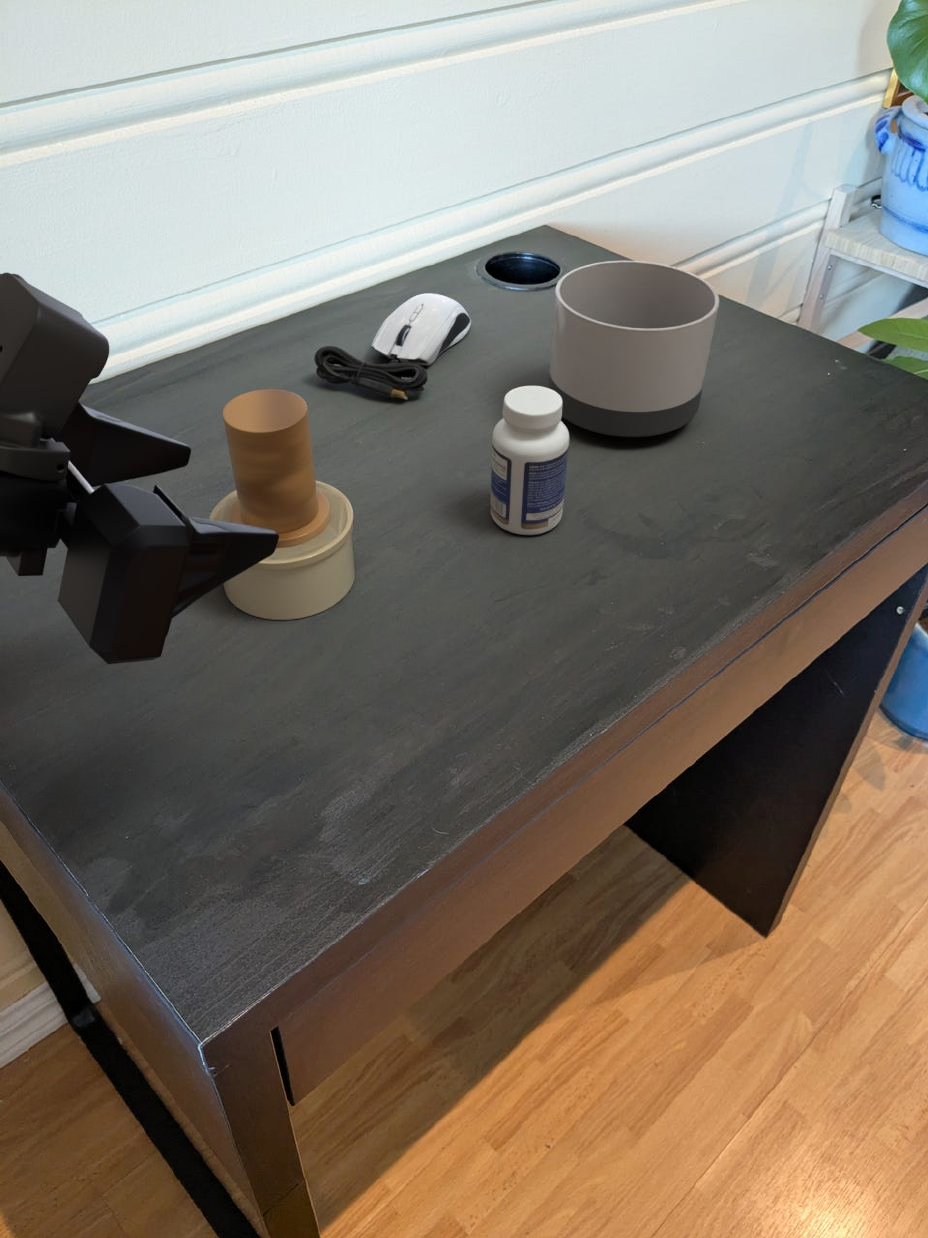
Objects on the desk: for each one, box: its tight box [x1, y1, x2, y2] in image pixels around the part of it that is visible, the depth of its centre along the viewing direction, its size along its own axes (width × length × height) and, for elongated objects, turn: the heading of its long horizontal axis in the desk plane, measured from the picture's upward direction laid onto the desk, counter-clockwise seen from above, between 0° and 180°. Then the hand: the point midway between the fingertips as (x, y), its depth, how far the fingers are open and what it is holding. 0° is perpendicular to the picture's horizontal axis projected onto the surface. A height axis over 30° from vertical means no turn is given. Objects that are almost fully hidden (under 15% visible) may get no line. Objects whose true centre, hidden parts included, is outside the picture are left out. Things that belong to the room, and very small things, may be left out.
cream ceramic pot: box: [208, 480, 356, 621], centre depth 64 cm, size 9×9×5 cm
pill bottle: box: [490, 385, 570, 536], centre depth 68 cm, size 5×5×10 cm
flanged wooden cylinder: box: [222, 388, 330, 548], centre depth 60 cm, size 6×6×8 cm
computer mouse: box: [313, 292, 472, 401], centre depth 89 cm, size 10×18×4 cm, turn 156°
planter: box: [547, 260, 720, 438], centre depth 79 cm, size 13×13×10 cm
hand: (229, 496), depth 48 cm, fingers open, 9 cm apart
